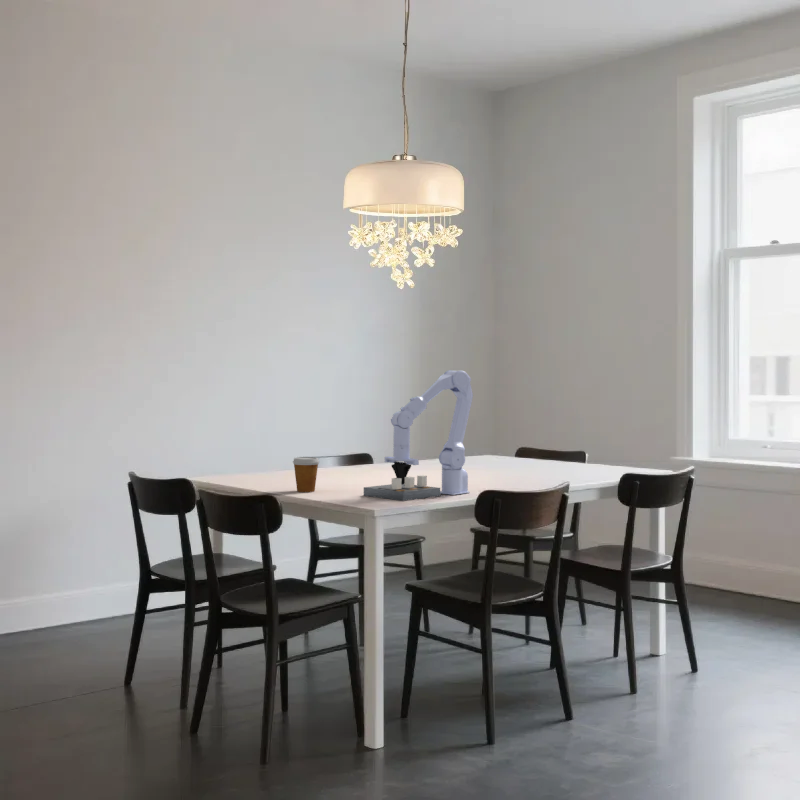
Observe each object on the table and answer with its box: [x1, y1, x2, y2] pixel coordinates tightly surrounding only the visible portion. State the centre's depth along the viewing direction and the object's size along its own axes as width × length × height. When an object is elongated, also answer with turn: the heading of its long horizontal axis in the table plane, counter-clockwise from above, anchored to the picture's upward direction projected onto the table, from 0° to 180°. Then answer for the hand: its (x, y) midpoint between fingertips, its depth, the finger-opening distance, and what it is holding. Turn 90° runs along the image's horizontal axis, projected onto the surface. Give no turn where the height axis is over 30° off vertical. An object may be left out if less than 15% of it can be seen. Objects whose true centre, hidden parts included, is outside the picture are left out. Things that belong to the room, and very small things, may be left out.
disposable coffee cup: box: [292, 456, 320, 493], centre depth 375 cm, size 10×10×12 cm
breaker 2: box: [416, 474, 428, 486], centre depth 367 cm, size 2×2×4 cm
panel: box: [363, 483, 441, 502], centre depth 364 cm, size 19×19×3 cm
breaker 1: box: [391, 477, 402, 489], centre depth 357 cm, size 2×2×4 cm
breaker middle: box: [405, 476, 415, 488], centre depth 362 cm, size 2×2×4 cm
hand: (401, 484), depth 365 cm, fingers closed
